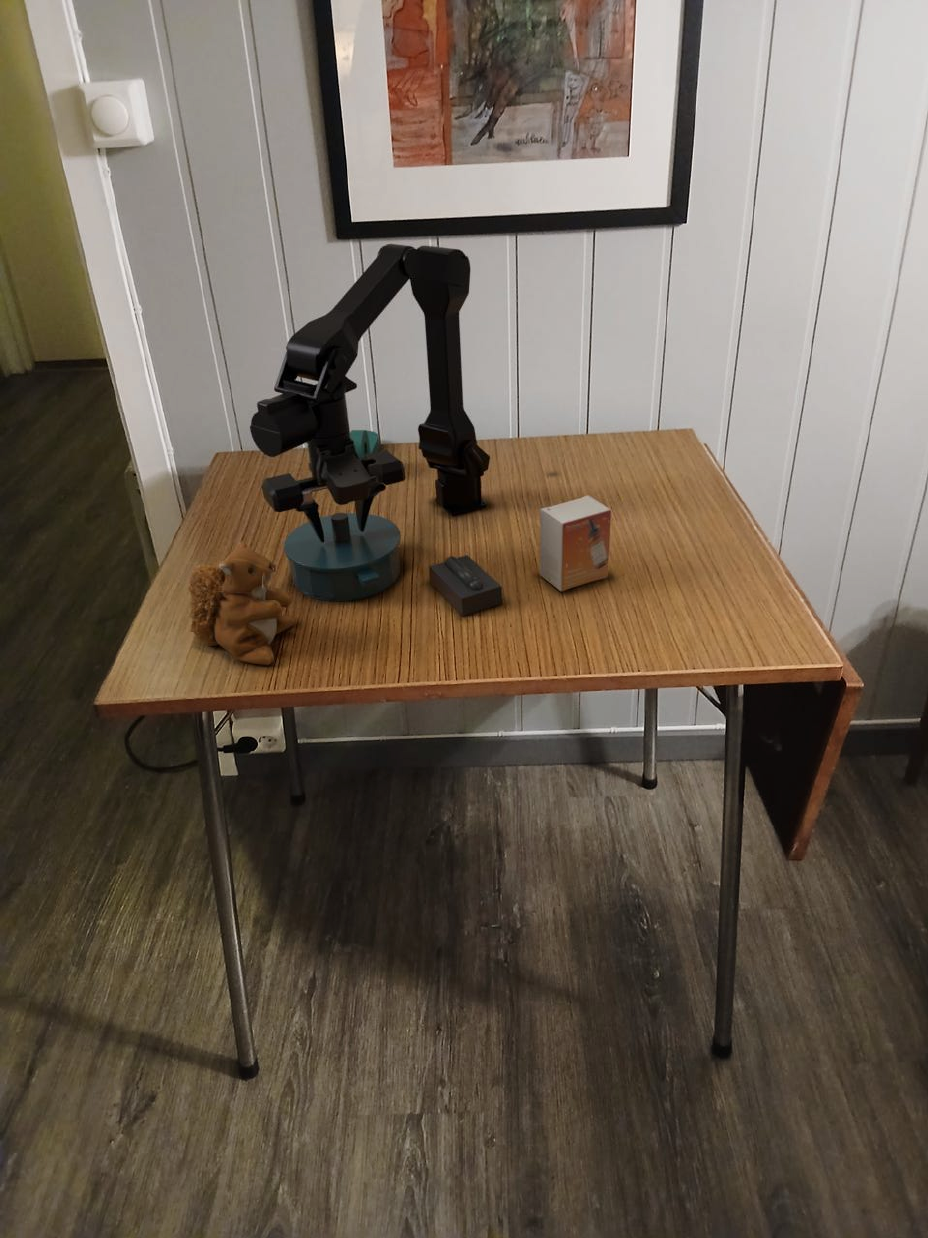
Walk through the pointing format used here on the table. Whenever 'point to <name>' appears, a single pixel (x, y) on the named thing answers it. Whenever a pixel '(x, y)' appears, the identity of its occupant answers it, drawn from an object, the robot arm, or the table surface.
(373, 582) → the pot
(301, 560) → the lid
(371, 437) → the bracket
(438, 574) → the dark grey block
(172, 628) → the table surface
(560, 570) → the small box
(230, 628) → the stuffed squirrel
